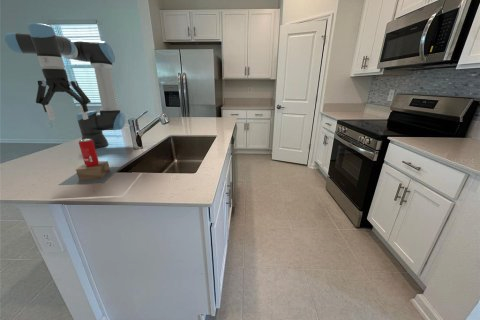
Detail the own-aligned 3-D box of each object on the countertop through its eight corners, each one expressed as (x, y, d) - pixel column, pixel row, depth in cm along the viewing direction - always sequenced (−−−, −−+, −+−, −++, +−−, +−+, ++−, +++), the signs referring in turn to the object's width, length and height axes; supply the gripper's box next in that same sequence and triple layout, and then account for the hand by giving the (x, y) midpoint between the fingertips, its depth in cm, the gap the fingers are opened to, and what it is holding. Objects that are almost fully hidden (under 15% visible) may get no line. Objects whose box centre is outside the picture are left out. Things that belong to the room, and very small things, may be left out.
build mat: (84, 169, 101) (83, 168, 101) (121, 167, 103) (121, 166, 103) (58, 186, 84) (58, 185, 84) (104, 184, 86) (103, 183, 86)
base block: (90, 171, 97) (87, 161, 95) (110, 170, 98) (107, 161, 96) (78, 179, 89) (75, 169, 87) (100, 178, 90) (97, 168, 88)
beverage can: (83, 165, 91) (75, 140, 86) (95, 162, 95) (88, 137, 91) (89, 168, 89) (82, 142, 84) (101, 164, 93) (95, 139, 88)
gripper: (10, 67, 77) (31, 121, 86) (81, 68, 81) (95, 120, 89) (26, 67, 84) (44, 118, 92) (91, 69, 88) (103, 117, 96)
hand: (69, 119), depth 91 cm, fingers open, 13 cm apart
